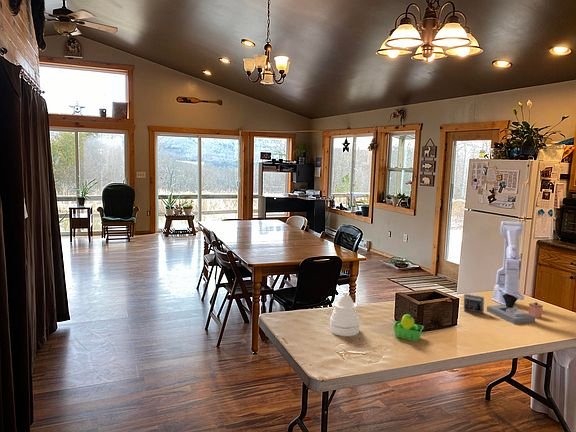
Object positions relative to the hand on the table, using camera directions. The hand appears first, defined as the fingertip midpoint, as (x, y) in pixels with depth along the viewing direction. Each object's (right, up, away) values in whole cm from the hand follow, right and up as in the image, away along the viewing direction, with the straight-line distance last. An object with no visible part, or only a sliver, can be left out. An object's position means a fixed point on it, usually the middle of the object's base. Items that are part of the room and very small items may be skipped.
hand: (509, 309), depth 214 cm
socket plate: (0, -3, 0) cm, 3 cm away
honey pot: (-83, -5, -21) cm, 86 cm away
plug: (+13, -3, 0) cm, 13 cm away
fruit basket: (-57, -6, -28) cm, 64 cm away
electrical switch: (-16, -3, +5) cm, 17 cm away
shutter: (+1, -1, -4) cm, 4 cm away
